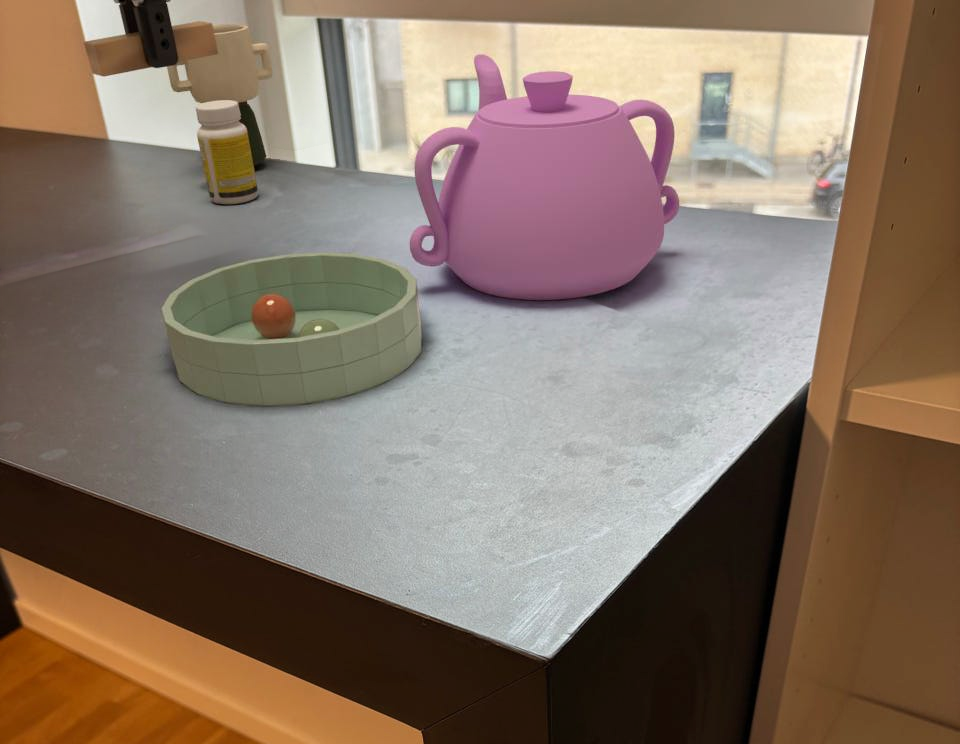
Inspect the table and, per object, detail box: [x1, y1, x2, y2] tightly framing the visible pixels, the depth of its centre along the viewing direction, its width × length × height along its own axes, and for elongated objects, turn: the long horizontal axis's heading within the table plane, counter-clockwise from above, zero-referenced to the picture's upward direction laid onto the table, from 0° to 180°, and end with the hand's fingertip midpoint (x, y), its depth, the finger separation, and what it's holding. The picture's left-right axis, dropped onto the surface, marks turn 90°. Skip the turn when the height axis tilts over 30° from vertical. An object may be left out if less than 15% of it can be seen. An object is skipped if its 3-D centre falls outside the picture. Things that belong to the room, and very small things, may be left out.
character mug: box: [166, 23, 273, 167], centre depth 106 cm, size 11×7×13 cm, turn 119°
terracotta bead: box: [251, 293, 296, 339], centre depth 69 cm, size 3×3×3 cm
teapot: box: [409, 53, 680, 301], centre depth 76 cm, size 22×22×14 cm
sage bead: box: [298, 319, 340, 337], centre depth 65 cm, size 3×3×3 cm
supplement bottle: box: [195, 100, 259, 205], centre depth 98 cm, size 5×5×8 cm
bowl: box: [160, 251, 423, 407], centre depth 67 cm, size 16×16×4 cm
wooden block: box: [83, 20, 218, 77], centre depth 72 cm, size 9×2×2 cm, turn 129°
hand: (156, 63), depth 73 cm, fingers closed on wooden block, 2 cm apart
